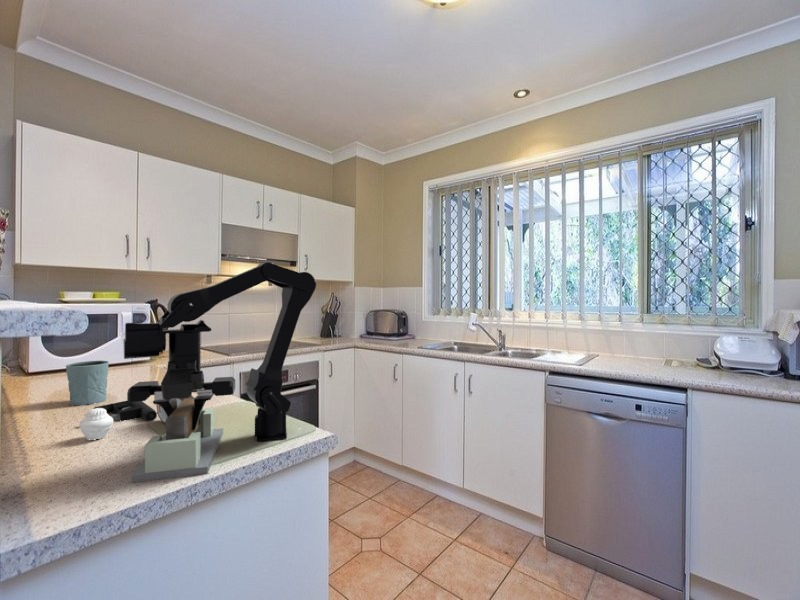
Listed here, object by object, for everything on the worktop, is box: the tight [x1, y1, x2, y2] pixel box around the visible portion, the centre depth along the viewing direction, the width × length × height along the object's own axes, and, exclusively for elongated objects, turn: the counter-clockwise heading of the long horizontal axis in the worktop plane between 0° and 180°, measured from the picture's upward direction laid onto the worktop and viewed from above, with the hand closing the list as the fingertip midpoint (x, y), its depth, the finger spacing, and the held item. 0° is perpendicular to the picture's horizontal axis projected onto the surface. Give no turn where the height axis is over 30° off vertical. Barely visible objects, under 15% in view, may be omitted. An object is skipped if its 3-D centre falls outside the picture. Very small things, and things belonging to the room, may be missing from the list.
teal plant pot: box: [65, 360, 110, 406], centre depth 118 cm, size 10×10×12 cm
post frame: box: [130, 407, 224, 483], centre depth 79 cm, size 12×22×6 cm, turn 18°
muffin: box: [78, 407, 114, 441], centre depth 88 cm, size 6×6×7 cm
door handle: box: [79, 400, 158, 424], centre depth 104 cm, size 3×20×16 cm
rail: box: [165, 396, 200, 440], centre depth 79 cm, size 3×16×6 cm, turn 18°
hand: (184, 430), depth 79 cm, fingers closed on rail, 3 cm apart
